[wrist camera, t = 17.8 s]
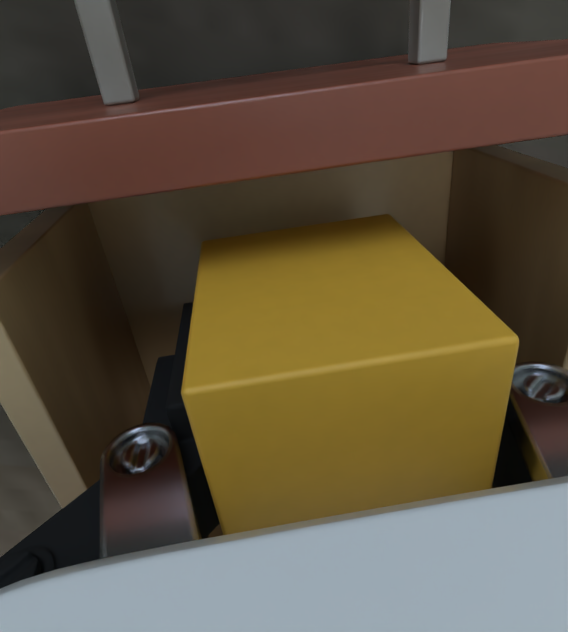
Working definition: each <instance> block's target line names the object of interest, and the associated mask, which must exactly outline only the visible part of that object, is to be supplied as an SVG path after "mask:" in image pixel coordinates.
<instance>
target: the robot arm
mask: <svg viewBox="0 0 568 632" xmlns="http://www.w3.org/2000/svg"><path fill="white" fill-rule="evenodd" d="M192 309H193V302H190V303H184V305H183V310H182V316H181V322H180V327H179V333H178V339H177V344H176V350H175V355H169V356H162V357H159V358H158V360H157V363H156V367H155V372H154V376H153V380H152V385H151V389H150V393H149V398H148V402H147V406H146V410H145V415H144V419H143V423H142V424H139V425H136V426H133V427H131V428H129V429H126V430H125V431H123V432H122V433H120V434H119V435H117V436H116V437H115V438H114V439H113V440H112V441H111V442H110V443H109V444H108V445H107V446H106V448H105V449H104V451H103V453H102V455H101V460H100V480H98V481H97V482H96V483H95V484H93V485H92V486H91V487H90V488H88V489H87V490H86V491H84V492H83V493H82V494H81V495H79V496H78V497H77V498H76V499H74V500H73V501H72V502H70V503H69V504H68V505H67V506H65V507H64V508H63V509H62V510H60V511H59V512H58V513H56V514H55V515H54V516H53V517H51V518H50V519H49V520H47V521H46V522H45V523H44V524H42V525H41V526H40V527H39V528H37V529H36V530H35V531H33V532H32V533H31V534H30V535H28V536H27V537H26V538H25V539H23V540H22V541H21V542H19V543H18V544H17V545H16V546H14V547H13V548H12V549H11V550H9V551H8V552H7V553H5V554H4V555H3V556H2V557H0V632H568V370H567V369H565V368H562V367H560V366H557V365H554V364H550V363H546V362H536V361H529V362H520V363H517V364H515V368H514V373H513V379H512V384H511V389H510V394H509V400H508V405H507V410H506V415H505V421H504V426H503V431H502V436H501V442H500V447H499V452H498V457H497V462H496V468H495V473H494V478H493V483H492V489H486V490H480V491H474V492H468V493H462V494H456V495H450V496H445V497H439V498H433V499H427V500H421V501H415V502H410V503H404V504H398V505H392V506H386V507H381V508H375V509H369V510H363V511H358V512H352V513H346V514H340V515H335V516H329V517H323V518H317V519H312V520H306V521H301V522H295V523H289V524H284V525H278V526H273V527H267V528H261V529H256V530H250V531H245V532H239V533H233V534H228V535H222V536H217V537H211V538H210V536H209V534H210V533H211V532H212V531H213V530H214V529H215V528H216V527H217V526H218V525H219V524H220V522H219V519H218V516H217V512H216V509H215V506H214V502H213V499H212V496H211V492H210V489H209V486H208V482H207V479H206V475H205V472H204V469H203V465H202V462H201V459H200V455H199V452H198V449H197V445H196V442H195V439H194V435H193V432H192V429H191V425H190V422H189V419H188V415H187V412H186V409H185V405H184V402H183V399H182V395H181V389H182V382H183V374H184V367H185V360H186V353H187V345H188V338H189V331H190V323H191V316H192Z"/></svg>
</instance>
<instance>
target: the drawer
mask: <svg viewBox="0 0 568 632" xmlns="http://www.w3.org/2000/svg"><path fill="white" fill-rule="evenodd" d="M74 3H75V6H76V10H77V13H78V17H79V20H80V24H81V27H82V30H83V34H84V37H85V41H86V44H87V48H88V51H89V55H90V58H91V61H92V65H93V68H94V72H95V75H96V79H97V82H98V86H99V89H100V92H101V95H97V96H89V97H81V98H74V99H66V100H59V101H51V102H44V103H36V104H28V105H21V106H14V107H10V108H6V109H2V110H0V216H1V215H8V214H15V213H22V212H29V211H36V210H43V209H46V210H45V211H44V212H42V213H41V214H40V215H39V216H38V217H37V218H35V219H34V220H33V221H32V222H31V223H30V224H28V225H27V226H26V227H25V228H24V229H23V230H21V231H20V232H19V233H18V234H17V235H16V236H14V237H13V238H12V239H11V240H10V241H9V242H7V243H6V244H5V245H4V246H3V247H2V248H0V403H1V405H2V407H3V408H4V410H5V412H6V414H7V415H8V417H9V419H10V420H11V422H12V424H13V426H14V427H15V429H16V431H17V432H18V434H19V436H20V438H21V439H22V441H23V443H24V444H25V446H26V448H27V450H28V451H29V453H30V455H31V457H32V458H33V460H34V462H35V463H36V465H37V467H38V469H39V470H40V472H41V474H42V475H43V477H44V479H45V481H46V482H47V484H48V486H49V487H50V489H51V491H52V493H53V494H54V496H55V498H56V499H57V501H58V503H59V505H60V506H61V508H62V509H63V508H64V507H65V506H67V505H68V504H69V503H70V502H72V501H73V500H74V499H76V498H77V497H78V496H79V495H81V494H82V493H83V492H84V491H86V490H87V489H88V488H90V487H91V486H92V485H93V484H95V483H96V482H97V481H98V480H100V460H101V455H102V453H103V451H104V449H105V448H106V446H107V445H108V444H109V443H110V442H111V441H112V440H113V439H114V438H115V437H116V436H117V435H119V434H120V433H122V432H123V431H125V430H126V429H129V428H131V427H133V426H136V425H139V424H142V423H143V419H144V415H145V410H146V406H147V402H148V398H149V393H150V389H151V385H152V380H153V376H154V372H155V367H156V363H157V360H158V358H159V357H162V356H169V355H175V350H176V344H177V339H178V333H179V327H180V322H181V316H182V310H183V305H184V303H190V302H193V301H194V294H195V287H196V280H197V272H198V265H199V258H200V250H201V244H202V242H203V241H206V240H213V239H219V238H226V237H233V236H240V235H247V234H254V233H260V232H267V231H274V230H281V229H288V228H295V227H301V226H308V225H315V224H322V223H329V222H336V221H342V220H349V219H356V218H363V217H370V216H377V215H383V214H389V215H391V216H392V217H393V218H394V219H395V220H396V221H397V222H398V223H399V224H400V225H401V226H403V227H404V228H405V229H406V230H407V231H408V232H409V233H410V234H411V235H412V236H413V237H414V238H415V239H416V240H417V241H418V242H419V243H420V244H421V245H423V246H424V247H425V248H426V249H427V250H428V251H429V252H430V253H431V254H432V255H433V256H434V257H435V258H436V259H437V260H438V261H439V262H440V263H442V264H443V265H444V266H445V267H446V268H447V269H448V270H449V271H450V272H451V273H452V274H453V275H454V276H455V277H456V278H457V279H458V280H459V281H460V282H462V283H463V284H464V285H465V286H466V287H467V288H468V289H469V290H470V291H471V292H472V293H473V294H474V295H475V296H476V297H477V298H478V299H479V300H481V301H482V302H483V303H484V304H485V305H486V306H487V307H488V308H489V309H490V310H491V311H492V312H493V313H494V314H495V315H496V316H497V317H498V318H499V319H501V320H502V321H503V322H504V323H505V324H506V325H507V326H508V327H509V328H510V329H511V330H512V331H513V332H514V333H515V334H516V335H517V336H518V338H519V347H518V353H517V358H516V363H515V364H517V363H520V362H529V361H536V362H546V363H550V364H554V365H557V366H560V367H562V368H565V369H567V370H568V168H565V167H561V166H558V165H555V164H552V163H549V162H546V161H543V160H540V159H537V158H534V157H531V156H528V155H524V154H521V153H518V152H515V151H512V150H509V149H506V148H503V147H500V146H497V145H499V144H506V143H513V142H520V141H527V140H534V139H541V138H548V137H555V136H562V135H568V39H564V40H545V41H526V42H507V43H490V44H482V45H475V46H467V47H459V48H452V49H447V48H448V33H449V18H450V3H451V0H410V8H409V44H408V54H407V55H399V56H391V57H384V58H376V59H369V60H361V61H354V62H346V63H338V64H331V65H323V66H316V67H308V68H301V69H293V70H286V71H278V72H270V73H263V74H255V75H248V76H240V77H233V78H225V79H217V80H210V81H202V82H195V83H187V84H180V85H172V86H165V87H157V88H149V89H142V90H138V88H137V84H136V80H135V76H134V72H133V68H132V64H131V60H130V56H129V52H128V48H127V44H126V41H125V37H124V33H123V29H122V25H121V21H120V17H119V13H118V9H117V5H116V1H115V0H74ZM222 535H223V532H222V529H221V526H220V524H219V525H218V526H217V527H216V528H215V529H214V530H213V531H212V532H211V533H210V534H209V536H210V538H211V537H217V536H222Z"/></svg>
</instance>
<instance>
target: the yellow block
mask: <svg viewBox="0 0 568 632" xmlns="http://www.w3.org/2000/svg"><path fill="white" fill-rule="evenodd" d="M518 347H519V338H518V336H517V335H516V334H515V333H514V332H513V331H512V330H511V329H510V328H509V327H508V326H507V325H506V324H505V323H504V322H503V321H502V320H501V319H499V318H498V317H497V316H496V315H495V314H494V313H493V312H492V311H491V310H490V309H489V308H488V307H487V306H486V305H485V304H484V303H483V302H482V301H481V300H479V299H478V298H477V297H476V296H475V295H474V294H473V293H472V292H471V291H470V290H469V289H468V288H467V287H466V286H465V285H464V284H463V283H462V282H460V281H459V280H458V279H457V278H456V277H455V276H454V275H453V274H452V273H451V272H450V271H449V270H448V269H447V268H446V267H445V266H444V265H443V264H442V263H440V262H439V261H438V260H437V259H436V258H435V257H434V256H433V255H432V254H431V253H430V252H429V251H428V250H427V249H426V248H425V247H424V246H423V245H421V244H420V243H419V242H418V241H417V240H416V239H415V238H414V237H413V236H412V235H411V234H410V233H409V232H408V231H407V230H406V229H405V228H404V227H403V226H401V225H400V224H399V223H398V222H397V221H396V220H395V219H394V218H393V217H392V216H391V215H389V214H383V215H377V216H370V217H363V218H356V219H349V220H342V221H336V222H329V223H322V224H315V225H308V226H301V227H295V228H288V229H281V230H274V231H267V232H260V233H254V234H247V235H240V236H233V237H226V238H219V239H213V240H206V241H203V242H202V244H201V250H200V258H199V265H198V272H197V280H196V287H195V294H194V301H193V309H192V316H191V323H190V331H189V338H188V345H187V353H186V360H185V367H184V374H183V382H182V389H181V395H182V399H183V402H184V405H185V409H186V412H187V415H188V419H189V422H190V425H191V429H192V432H193V435H194V439H195V442H196V445H197V449H198V452H199V455H200V459H201V462H202V465H203V469H204V472H205V475H206V479H207V482H208V486H209V489H210V492H211V496H212V499H213V502H214V506H215V509H216V512H217V516H218V519H219V522H220V526H221V529H222V532H223V535H228V534H233V533H239V532H245V531H250V530H256V529H261V528H267V527H273V526H278V525H284V524H289V523H295V522H301V521H306V520H312V519H317V518H323V517H329V516H335V515H340V514H346V513H352V512H358V511H363V510H369V509H375V508H381V507H386V506H392V505H398V504H404V503H410V502H415V501H421V500H427V499H433V498H439V497H445V496H450V495H456V494H462V493H468V492H474V491H480V490H486V489H492V483H493V478H494V473H495V468H496V462H497V457H498V452H499V447H500V442H501V436H502V431H503V426H504V421H505V415H506V410H507V405H508V400H509V394H510V389H511V384H512V379H513V373H514V368H515V363H516V358H517V353H518Z"/></svg>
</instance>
